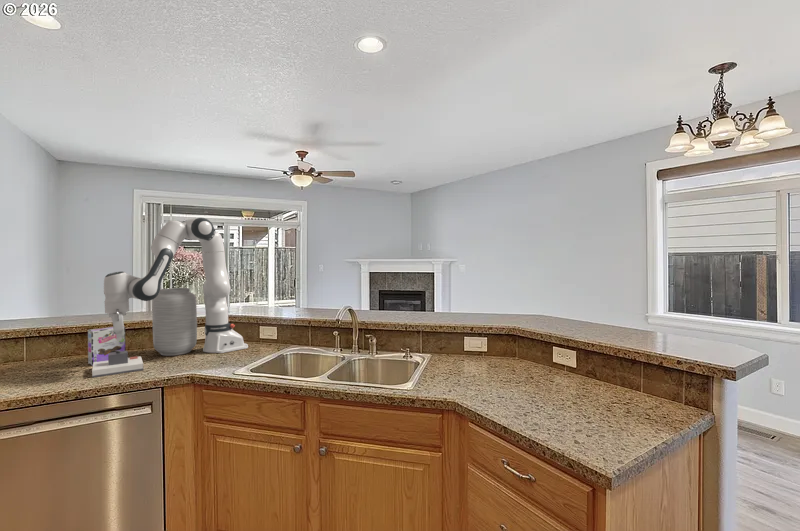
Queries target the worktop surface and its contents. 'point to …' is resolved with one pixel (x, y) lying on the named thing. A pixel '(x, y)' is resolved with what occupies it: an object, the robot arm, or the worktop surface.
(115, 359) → the plug
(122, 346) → the candy box
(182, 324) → the vase
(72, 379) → the worktop surface
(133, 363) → the socket
